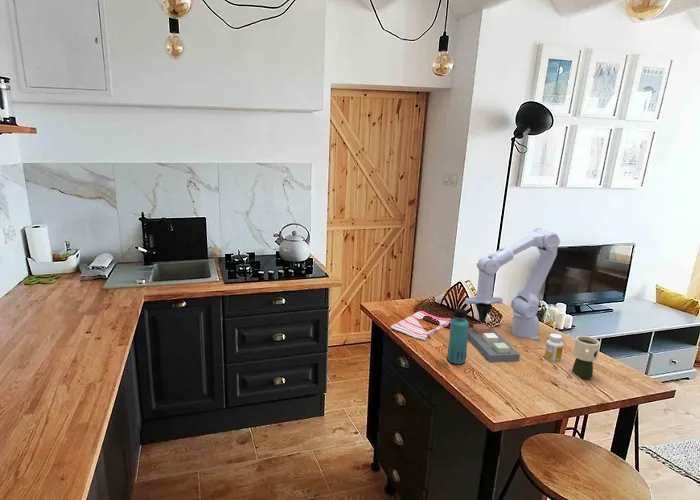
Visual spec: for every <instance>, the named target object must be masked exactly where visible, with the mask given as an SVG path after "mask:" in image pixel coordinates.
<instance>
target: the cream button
mask: <svg viewBox="0 0 700 500" xmlns="http://www.w3.org/2000/svg"><path fill="white" fill-rule="evenodd" d="M498 339H499V337H497V336H496V335H495V334H494V333H483V340H484V341H485V342H486V343H498Z"/></svg>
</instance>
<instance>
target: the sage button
mask: <svg viewBox="0 0 700 500" xmlns="http://www.w3.org/2000/svg"><path fill="white" fill-rule="evenodd" d="M509 349H510V348H509V347H508V346H507V345H506V344H505V343H493V350H494V351H495V352H496V353H497V354H509Z"/></svg>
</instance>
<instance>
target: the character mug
mask: <svg viewBox="0 0 700 500" xmlns="http://www.w3.org/2000/svg"><path fill="white" fill-rule="evenodd" d="M600 345H601V343H600V340H598V339H596V338H594V337H591V336H588V335H587V336H586V335H578V336H576V337H575V340H574V347H573V356H574V358H575V361H574V363H573V366H572V370H571V372H572V373H573V374H575V375H576V376H578V377H581V378H583V379H592V378H593V377H594V376H593V373H594V362H596V361H597V359H598V356H599V348H600Z"/></svg>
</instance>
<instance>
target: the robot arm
mask: <svg viewBox="0 0 700 500" xmlns="http://www.w3.org/2000/svg"><path fill="white" fill-rule="evenodd" d="M560 243H561V240H560V237H559V234H557V233H556V232H554V231H549V230H547V229H543V228H541V227H538V228H537V227H536V228H535V229H533V230H531V231H529V232H528V234H527V235H526V236H524V237H523V238H521V239H520V240H518V241H516V242H515V243H513V245H511V246H509V247H507V246H504V247H502V246H501V247H499V248H498V250H496V251H495V252H492V253H490V254H488V256H483V257H481V258H479V260H478V262H477V263H476V268H477V269H478V279H477V291H476V296H473V297H468V298H464V299H465V301H464V303H465V304H466V306H467V305H475V307H476V310H477V312H478V313H477V314H478V320H479V321H480V322H481V323H485V321H486V318H487V316H488V314H489V313H490V311H491V310H492V309H493V305H492V304H500V305H502V304H503V298H502V297H494V296H493V291H494V283H495V282H494V281H495V274H497V272H498V271H499V269H500V268H501V267H502V266H505V265H506V264H508V263H509V262H511V261H512V260H514V256H515V255H517V254H519V253H521V252H523V251H525V250H527V249H530V248H531V247H535V248H537V250H538V252H539V257H538V259H537V261H536V263H535V265H534V267H533V269H532V271H531V274H530V276H529V278H528V280H527V282H526V284H525V286H524V289H523V290H521V291H519V292H517V294H516V296H515V297H513V299H512V300H511V303H510V307H511V309H512V313H513V316H512V325H511V326H512V327H511V335H512V336H515V337H518V338H522V339H523V338H524V339H525V338H530V339H531V340H538V339H539V337H538V335H539V334H538V333H539V325H540V321H539V318H538V316H537V314H538V311H539V306H540V300H539V298H538V295H539V293H540V291H541V290H542V287H543V285H544V282H545V281H546V278H547V277H548V274H549V273H550V270H551V268H552V267H553V264H554V262H555V260H556V258H557V256H558V249H559V245H560Z"/></svg>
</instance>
